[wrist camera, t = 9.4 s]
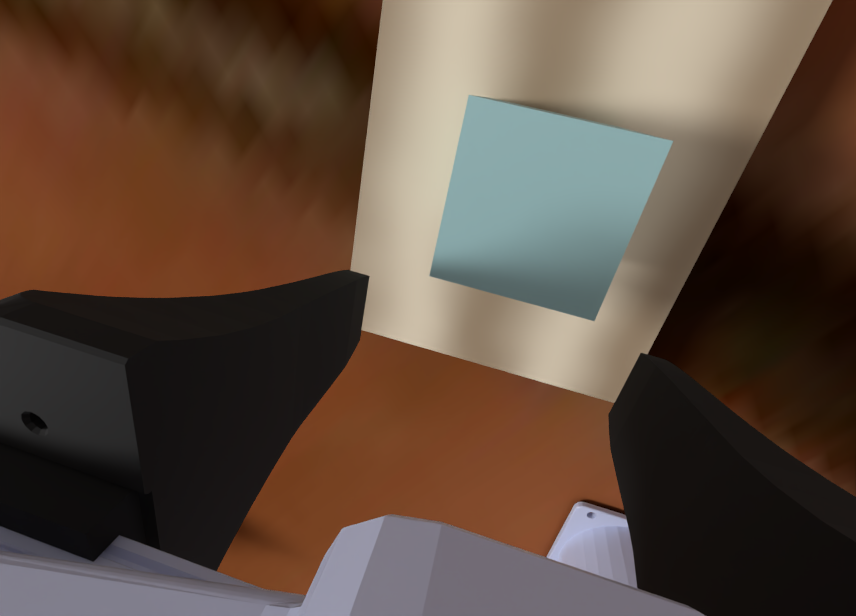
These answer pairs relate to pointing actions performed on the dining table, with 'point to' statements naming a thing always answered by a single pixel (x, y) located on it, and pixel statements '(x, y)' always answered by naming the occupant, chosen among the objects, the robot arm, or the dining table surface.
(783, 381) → the dining table surface
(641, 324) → the flat cream rectangular board
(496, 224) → the teal block
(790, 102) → the dining table surface
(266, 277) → the dining table surface
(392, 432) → the dining table surface
